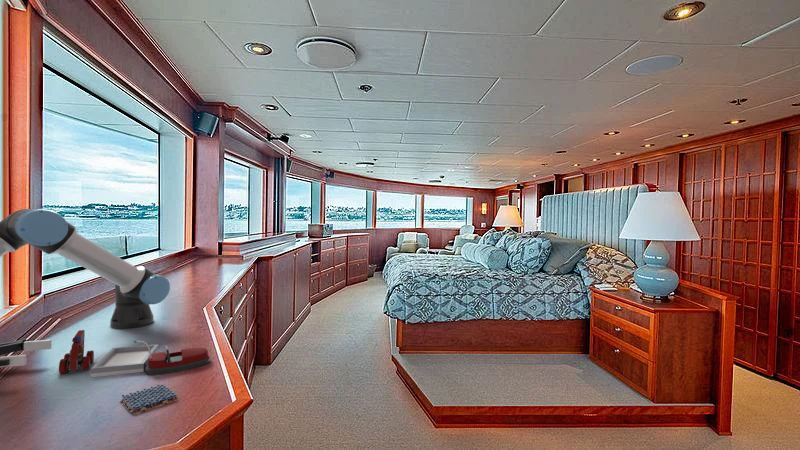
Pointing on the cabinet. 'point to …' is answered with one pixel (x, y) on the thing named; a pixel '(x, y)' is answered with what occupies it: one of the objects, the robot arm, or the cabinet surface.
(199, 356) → the bumper car
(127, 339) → the cabinet surface
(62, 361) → the toy fire truck
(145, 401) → the woven mat
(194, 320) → the cabinet surface
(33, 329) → the cabinet surface
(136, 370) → the tray
